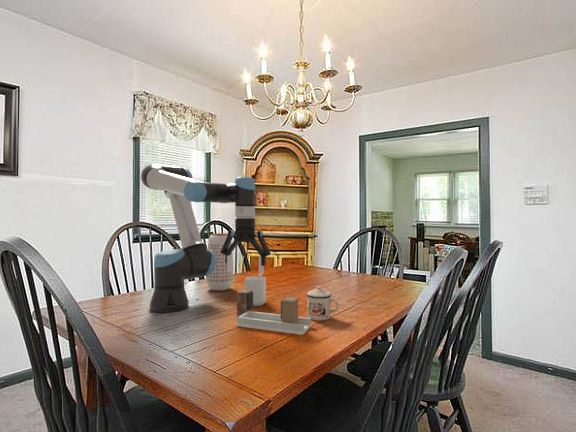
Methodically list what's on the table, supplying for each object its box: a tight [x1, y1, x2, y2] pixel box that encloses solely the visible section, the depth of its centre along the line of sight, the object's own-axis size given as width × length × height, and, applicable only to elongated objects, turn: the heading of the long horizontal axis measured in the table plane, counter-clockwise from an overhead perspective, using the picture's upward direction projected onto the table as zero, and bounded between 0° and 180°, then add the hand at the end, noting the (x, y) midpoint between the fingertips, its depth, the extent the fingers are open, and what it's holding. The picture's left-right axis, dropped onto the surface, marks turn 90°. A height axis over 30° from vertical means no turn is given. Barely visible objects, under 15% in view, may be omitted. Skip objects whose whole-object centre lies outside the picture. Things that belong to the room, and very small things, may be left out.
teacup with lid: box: [306, 285, 340, 322], centre depth 133 cm, size 12×9×12 cm
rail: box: [236, 296, 312, 336], centre depth 123 cm, size 24×9×10 cm, turn 69°
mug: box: [244, 275, 267, 307], centre depth 154 cm, size 12×9×11 cm
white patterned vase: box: [205, 232, 234, 292], centre depth 180 cm, size 13×13×28 cm
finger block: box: [236, 288, 254, 317], centre depth 137 cm, size 5×5×9 cm
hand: (245, 273), depth 137 cm, fingers open, 13 cm apart
